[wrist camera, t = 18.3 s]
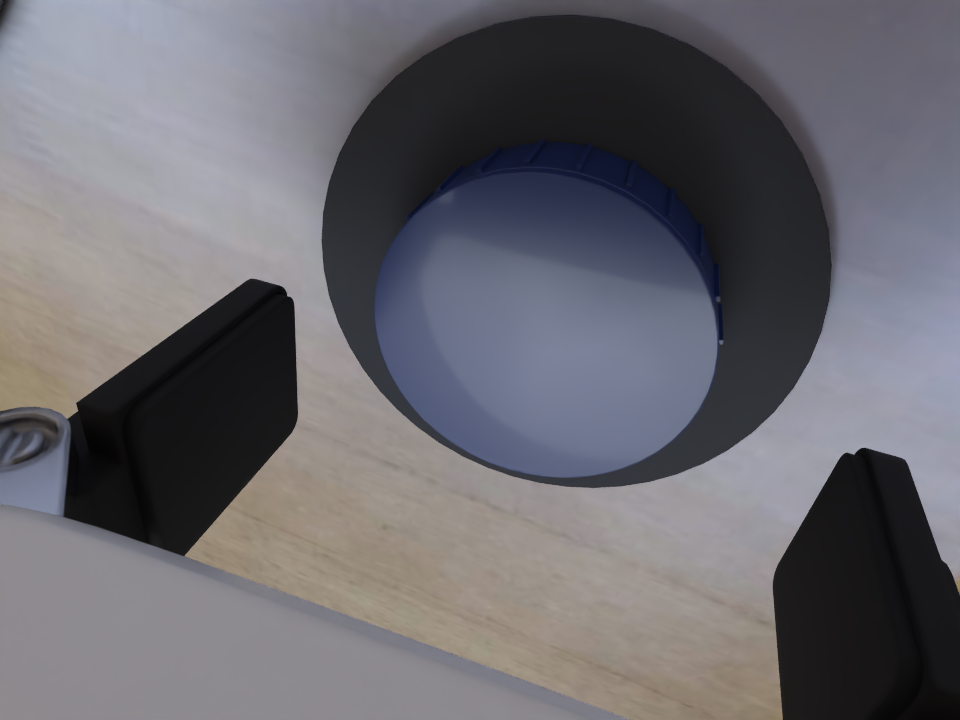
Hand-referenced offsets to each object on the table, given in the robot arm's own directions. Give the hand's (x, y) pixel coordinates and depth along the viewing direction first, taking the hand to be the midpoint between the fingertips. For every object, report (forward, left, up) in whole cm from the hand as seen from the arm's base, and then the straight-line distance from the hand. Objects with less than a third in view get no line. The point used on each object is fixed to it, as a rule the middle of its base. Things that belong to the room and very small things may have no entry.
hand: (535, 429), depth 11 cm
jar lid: (+1, 0, -3) cm, 2 cm away
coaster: (+1, 0, -5) cm, 5 cm away
